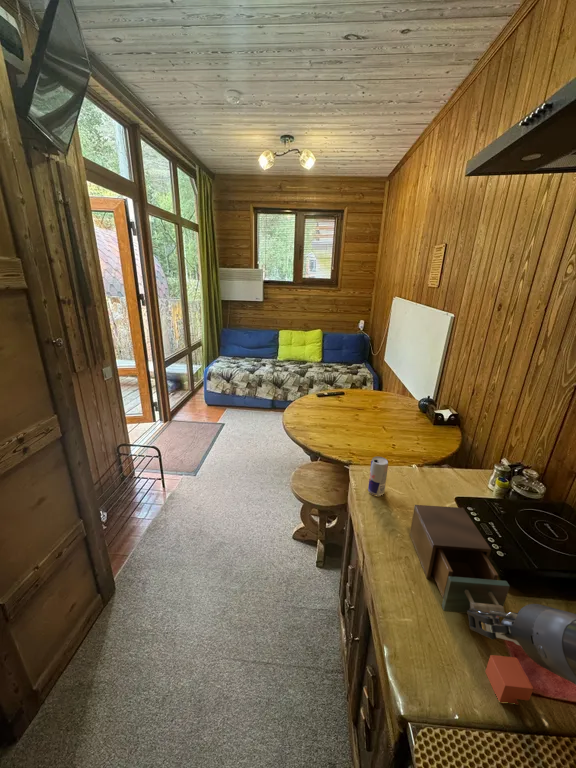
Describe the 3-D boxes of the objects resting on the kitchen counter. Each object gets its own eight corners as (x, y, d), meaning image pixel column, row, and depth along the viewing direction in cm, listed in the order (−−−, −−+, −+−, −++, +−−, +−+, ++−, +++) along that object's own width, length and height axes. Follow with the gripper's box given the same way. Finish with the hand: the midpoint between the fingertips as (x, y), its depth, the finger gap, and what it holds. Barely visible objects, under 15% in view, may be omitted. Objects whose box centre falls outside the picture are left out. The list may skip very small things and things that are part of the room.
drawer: (512, 638, 60) (523, 606, 57) (452, 632, 60) (460, 601, 58) (471, 564, 75) (478, 537, 73) (423, 560, 76) (428, 533, 74)
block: (510, 674, 55) (516, 657, 53) (526, 706, 51) (533, 688, 49) (485, 671, 55) (490, 654, 54) (499, 703, 51) (505, 685, 50)
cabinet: (482, 583, 72) (491, 549, 69) (426, 578, 72) (433, 545, 69) (456, 538, 85) (463, 507, 81) (409, 534, 85) (414, 504, 82)
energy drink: (366, 486, 106) (369, 455, 102) (382, 487, 106) (385, 456, 102) (369, 496, 101) (373, 464, 97) (386, 497, 100) (390, 465, 97)
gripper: (612, 614, 41) (532, 595, 56) (501, 604, 42) (451, 588, 57) (638, 689, 38) (546, 648, 52) (516, 676, 39) (459, 640, 53)
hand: (496, 617), depth 54 cm, fingers open, 8 cm apart
